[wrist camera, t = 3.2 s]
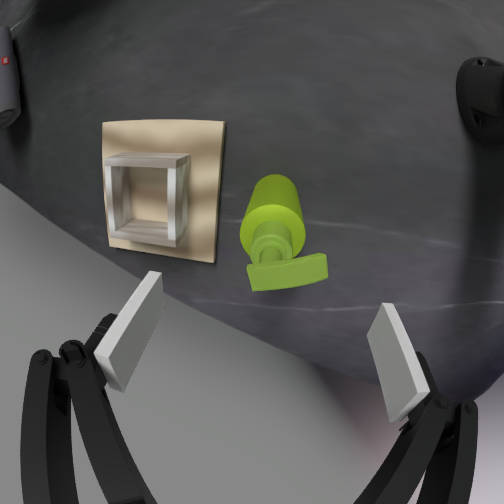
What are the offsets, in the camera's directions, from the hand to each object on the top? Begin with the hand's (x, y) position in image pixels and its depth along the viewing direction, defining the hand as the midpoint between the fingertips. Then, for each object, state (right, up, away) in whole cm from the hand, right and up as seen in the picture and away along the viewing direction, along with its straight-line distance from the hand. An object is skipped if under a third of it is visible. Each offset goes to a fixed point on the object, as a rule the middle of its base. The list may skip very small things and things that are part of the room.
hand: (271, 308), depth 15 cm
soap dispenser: (+3, +11, +20) cm, 23 cm away
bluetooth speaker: (-48, +39, +12) cm, 63 cm away
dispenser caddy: (-14, +12, +21) cm, 29 cm away
